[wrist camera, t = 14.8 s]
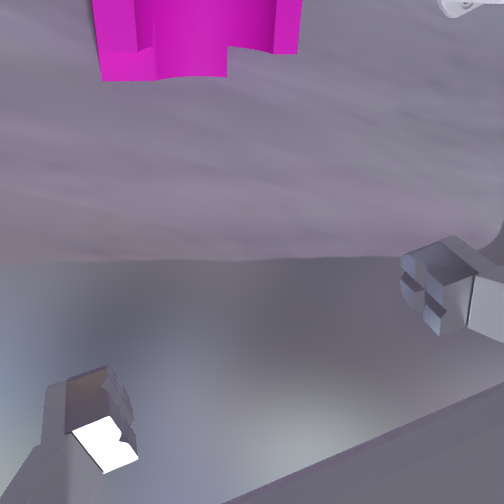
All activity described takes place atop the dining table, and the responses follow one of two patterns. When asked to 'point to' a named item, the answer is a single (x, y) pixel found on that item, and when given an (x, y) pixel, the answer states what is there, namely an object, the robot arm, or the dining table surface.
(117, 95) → the dining table surface
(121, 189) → the dining table surface
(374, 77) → the dining table surface
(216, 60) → the toy block
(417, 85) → the dining table surface
